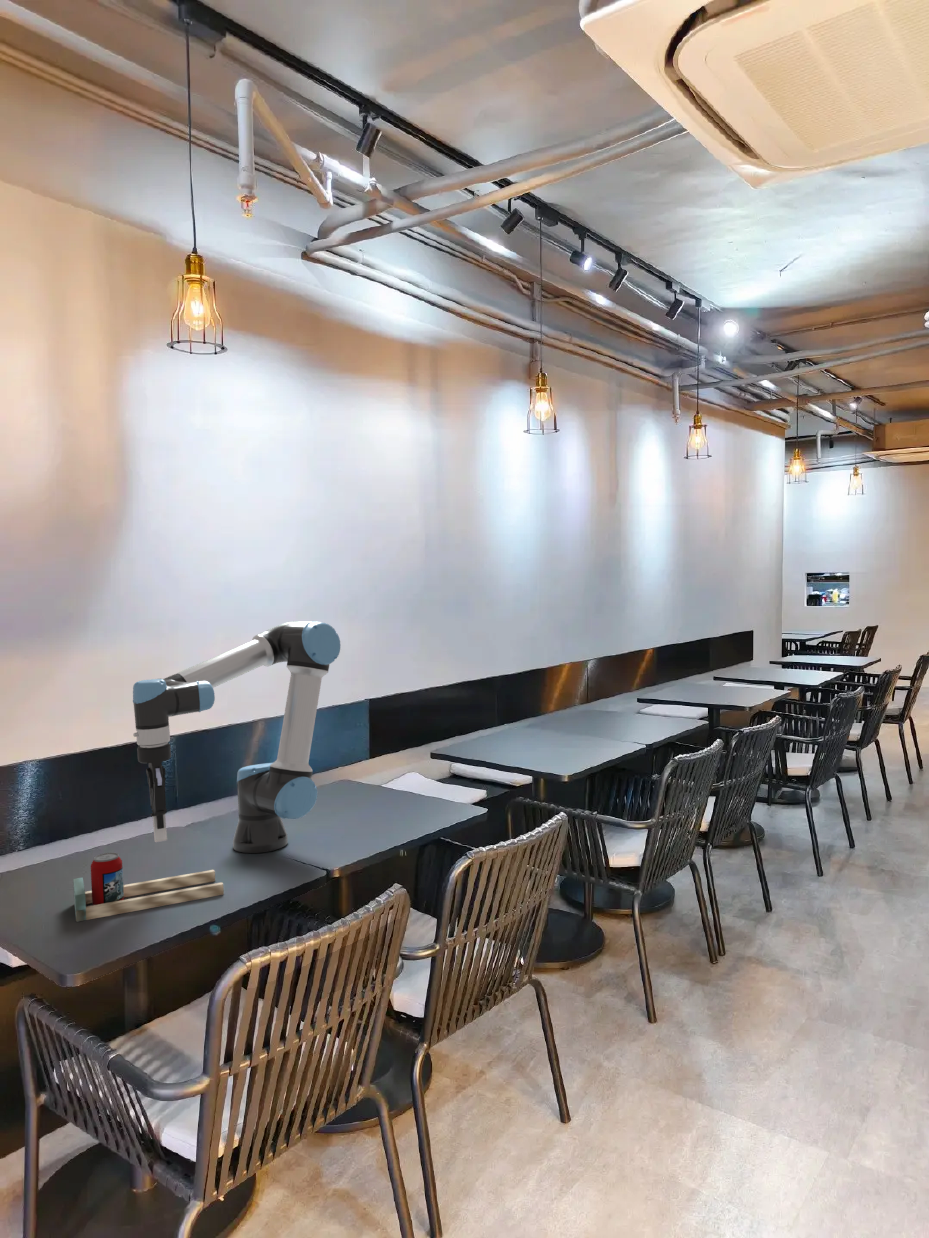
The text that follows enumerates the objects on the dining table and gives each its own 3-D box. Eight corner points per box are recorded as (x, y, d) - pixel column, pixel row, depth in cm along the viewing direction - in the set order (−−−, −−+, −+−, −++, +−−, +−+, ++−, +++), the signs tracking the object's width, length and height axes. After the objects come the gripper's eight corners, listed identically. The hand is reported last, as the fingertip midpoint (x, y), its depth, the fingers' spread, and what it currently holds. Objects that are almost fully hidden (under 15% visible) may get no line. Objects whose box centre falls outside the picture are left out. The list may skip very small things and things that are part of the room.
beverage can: (115, 913, 189) (112, 861, 188) (86, 913, 189) (84, 861, 189) (129, 901, 195) (127, 851, 195) (102, 901, 196) (99, 851, 195)
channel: (214, 879, 209) (213, 855, 209) (223, 894, 199) (222, 869, 198) (74, 904, 195) (73, 878, 194) (76, 921, 184) (75, 895, 184)
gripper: (133, 741, 203) (141, 836, 204) (140, 751, 191) (148, 851, 193) (165, 737, 206) (172, 830, 208) (174, 746, 195) (181, 844, 196)
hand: (160, 840), depth 200 cm, fingers closed
